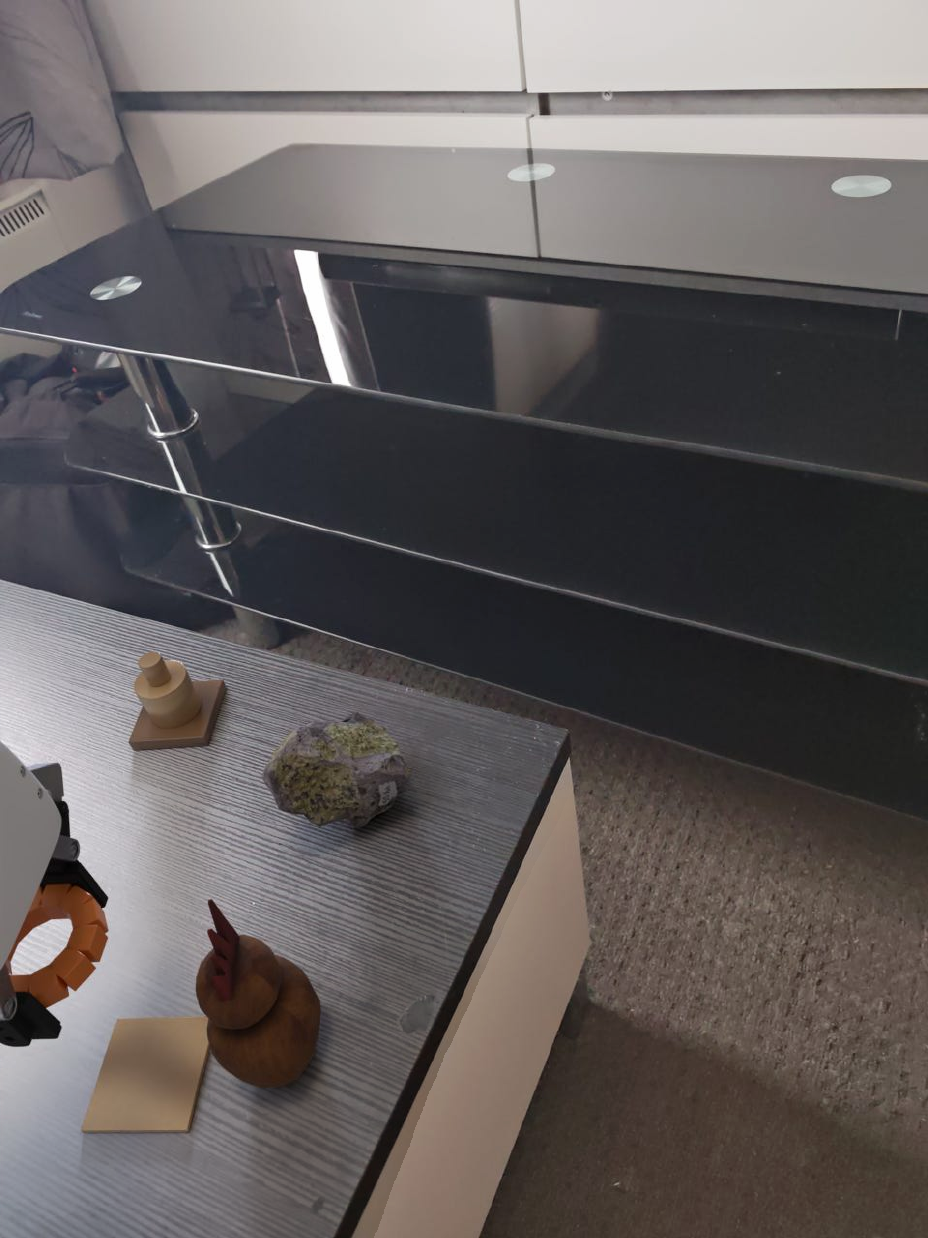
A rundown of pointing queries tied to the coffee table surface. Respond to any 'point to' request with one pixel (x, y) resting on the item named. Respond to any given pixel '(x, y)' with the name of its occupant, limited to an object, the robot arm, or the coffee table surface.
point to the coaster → (149, 1076)
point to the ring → (80, 948)
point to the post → (173, 705)
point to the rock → (337, 771)
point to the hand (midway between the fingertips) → (58, 965)
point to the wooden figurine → (256, 1008)
